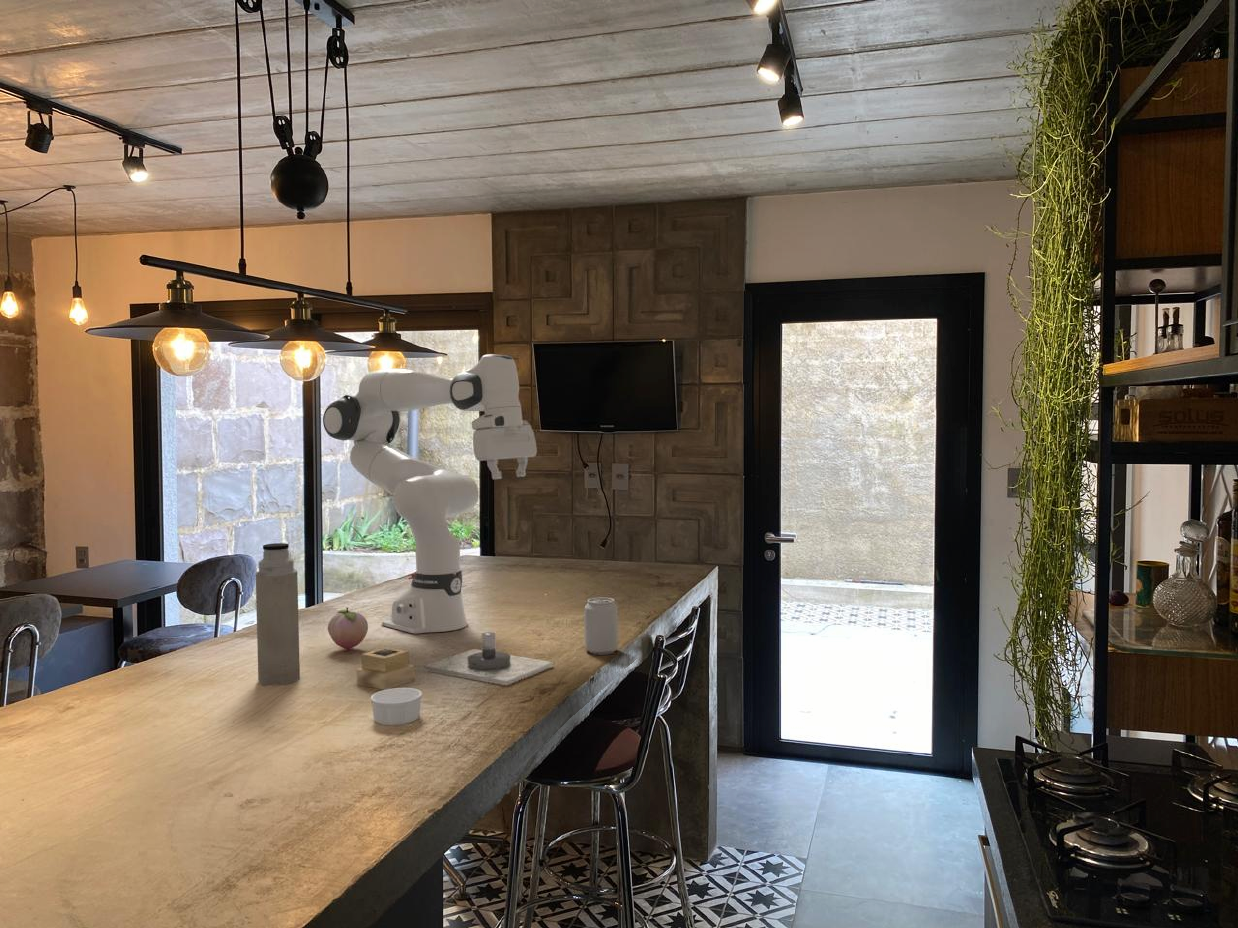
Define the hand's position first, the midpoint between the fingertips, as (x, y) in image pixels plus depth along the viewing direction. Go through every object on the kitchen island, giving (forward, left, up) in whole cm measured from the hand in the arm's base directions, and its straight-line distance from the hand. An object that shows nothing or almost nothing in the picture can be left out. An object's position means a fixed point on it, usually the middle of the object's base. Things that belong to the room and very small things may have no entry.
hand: (509, 477), depth 217 cm
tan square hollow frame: (+1, -42, -36) cm, 55 cm away
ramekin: (+19, -57, -39) cm, 72 cm away
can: (+26, 0, -39) cm, 47 cm away
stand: (+1, -42, -39) cm, 57 cm away
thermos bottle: (-19, -52, -39) cm, 68 cm away
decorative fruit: (-25, -28, -39) cm, 54 cm away
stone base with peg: (+13, -24, -39) cm, 47 cm away
